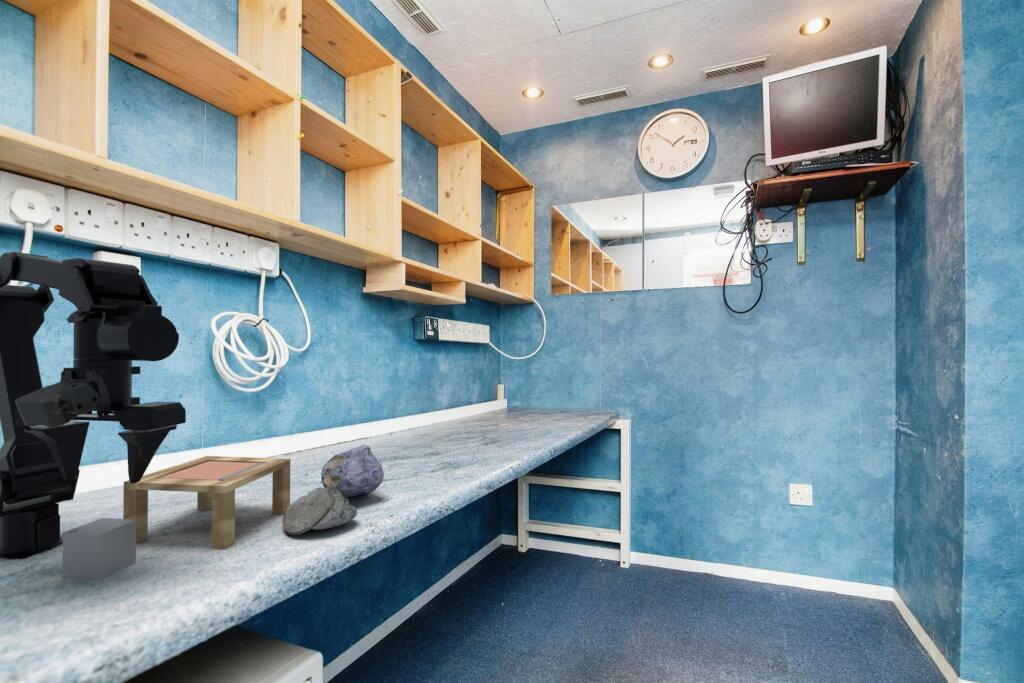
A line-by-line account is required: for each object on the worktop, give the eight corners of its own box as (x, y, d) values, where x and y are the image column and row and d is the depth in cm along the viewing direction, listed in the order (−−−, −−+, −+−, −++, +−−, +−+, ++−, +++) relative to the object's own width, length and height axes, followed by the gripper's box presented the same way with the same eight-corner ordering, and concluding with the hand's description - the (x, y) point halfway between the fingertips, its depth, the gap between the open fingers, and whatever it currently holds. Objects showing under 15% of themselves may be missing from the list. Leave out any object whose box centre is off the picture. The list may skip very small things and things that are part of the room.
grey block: (62, 581, 58) (62, 532, 58) (101, 562, 63) (102, 517, 63) (98, 584, 58) (99, 534, 58) (135, 565, 63) (136, 519, 63)
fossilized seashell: (283, 501, 80) (319, 463, 77) (330, 519, 84) (365, 485, 82) (270, 550, 72) (310, 510, 69) (323, 568, 76) (362, 531, 73)
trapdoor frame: (123, 543, 69) (123, 481, 69) (205, 506, 85) (206, 455, 85) (224, 549, 67) (225, 486, 67) (290, 510, 83) (290, 458, 83)
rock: (358, 488, 96) (359, 438, 96) (390, 499, 89) (390, 446, 89) (307, 502, 87) (307, 448, 87) (337, 515, 81) (337, 456, 81)
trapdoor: (159, 483, 72) (159, 476, 72) (209, 466, 82) (209, 460, 82) (224, 486, 71) (224, 479, 71) (266, 468, 81) (266, 462, 81)
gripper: (-40, 360, 54) (-41, 498, 54) (110, 363, 52) (108, 506, 52) (63, 357, 65) (62, 471, 65) (189, 359, 63) (188, 477, 63)
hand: (102, 481), depth 61 cm, fingers open, 9 cm apart
